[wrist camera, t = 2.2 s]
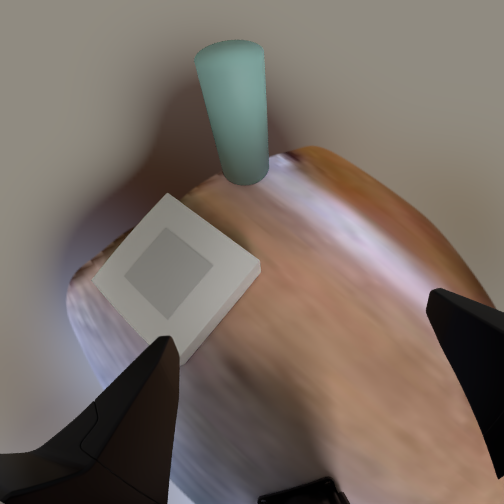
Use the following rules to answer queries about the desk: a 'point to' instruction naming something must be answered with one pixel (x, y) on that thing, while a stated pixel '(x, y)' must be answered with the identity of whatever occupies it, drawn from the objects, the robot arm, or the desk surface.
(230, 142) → the pillar
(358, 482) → the desk surface
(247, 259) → the plinth
